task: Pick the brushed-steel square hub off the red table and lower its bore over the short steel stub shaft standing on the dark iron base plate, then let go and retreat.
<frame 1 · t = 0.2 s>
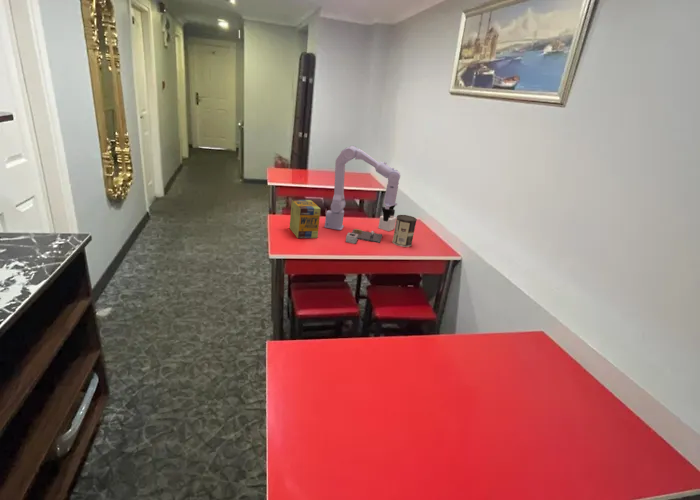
hand: (386, 219, 202), 10 cm above the table, fingers open, 7 cm apart
shaft block: (366, 236, 202), on the table
protein box: (303, 233, 195), on the table
medicine bottle: (386, 228, 220), on the table
coffee can: (401, 243, 200), on the table
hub: (351, 241, 193), on the table
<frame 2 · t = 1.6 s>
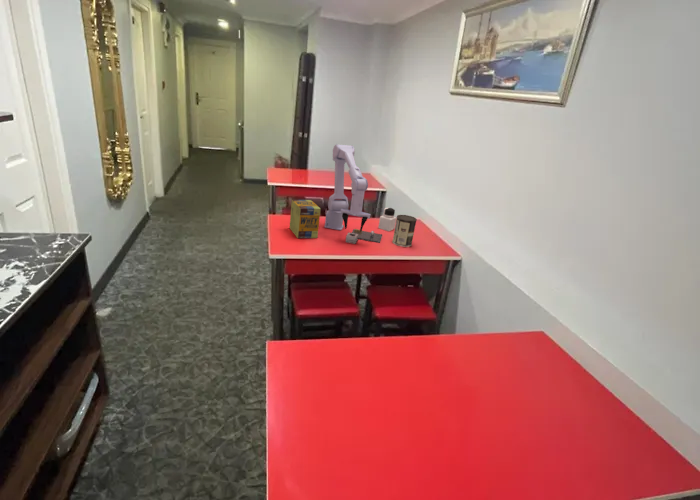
hand: (353, 229, 190), 6 cm above the table, fingers open, 7 cm apart
nothing on the table moved.
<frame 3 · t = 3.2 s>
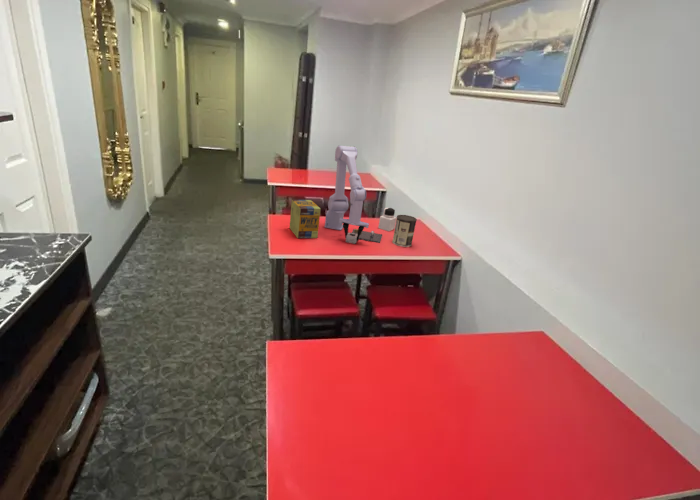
hand: (351, 238, 192), 1 cm above the table, fingers closed on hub, 5 cm apart
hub: (351, 241, 193), on the table, touching gripper
everything else where it was.
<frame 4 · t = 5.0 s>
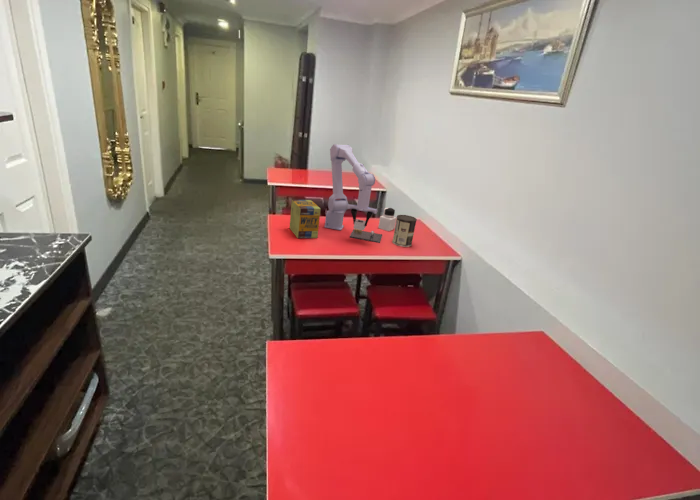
hand: (360, 224, 192), 8 cm above the table, fingers closed on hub, 5 cm apart
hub: (359, 227, 193), point 7 cm above the table, touching gripper
everything else where it was.
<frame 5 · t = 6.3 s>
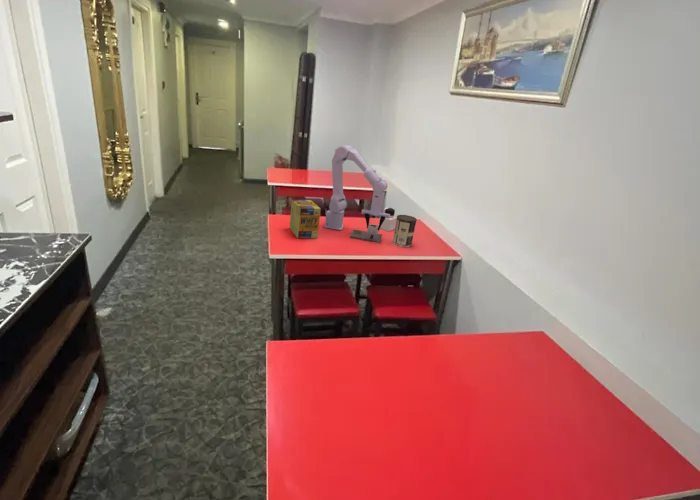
hand: (373, 228, 200), 5 cm above the table, fingers closed on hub, 5 cm apart
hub: (372, 232, 200), point 3 cm above the table, touching gripper
everything else where it was.
when the fingers open (3 cm above the table, at t = 7.3 s): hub stays where it is, resting on shaft block.
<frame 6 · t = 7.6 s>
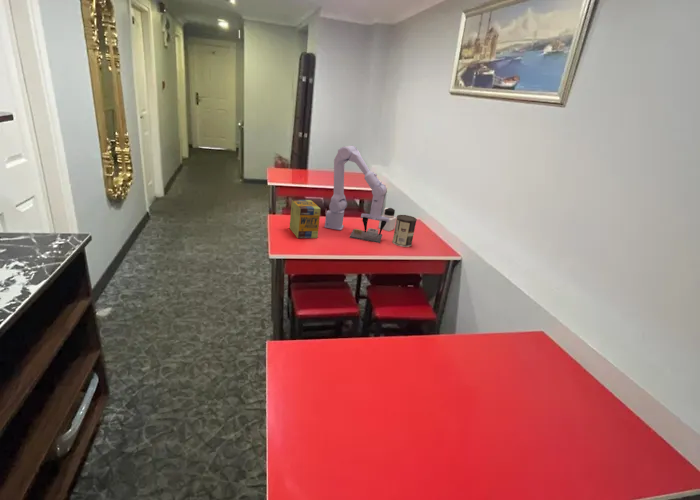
hand: (372, 232, 201), 3 cm above the table, fingers open, 7 cm apart
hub: (371, 236, 201), point 1 cm above the table, touching shaft block
everything else where it was.
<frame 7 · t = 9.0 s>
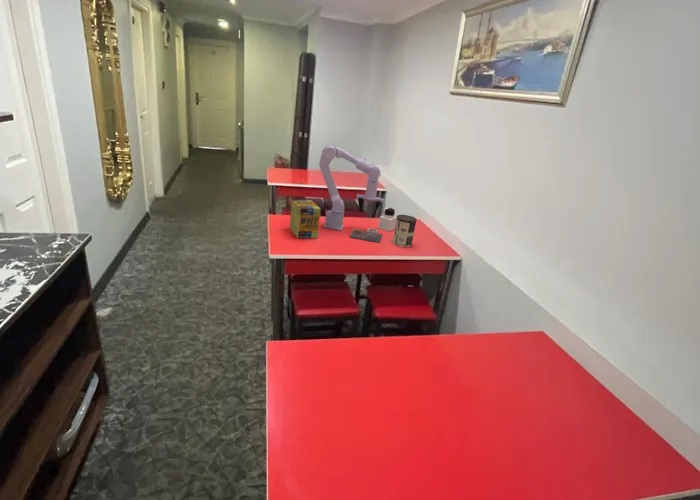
hand: (367, 213, 208), 10 cm above the table, fingers open, 7 cm apart
nothing on the table moved.
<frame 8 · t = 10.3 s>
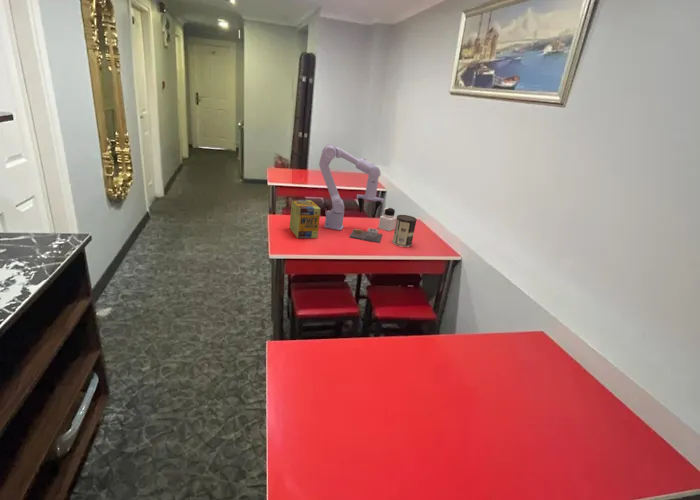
hand: (367, 213, 208), 10 cm above the table, fingers open, 7 cm apart
nothing on the table moved.
at the end: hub 0.3 cm from the target spot on the shaft block, point 0.8 cm above the shaft block's base; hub tilted 0°; the gripper is holding nothing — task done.
